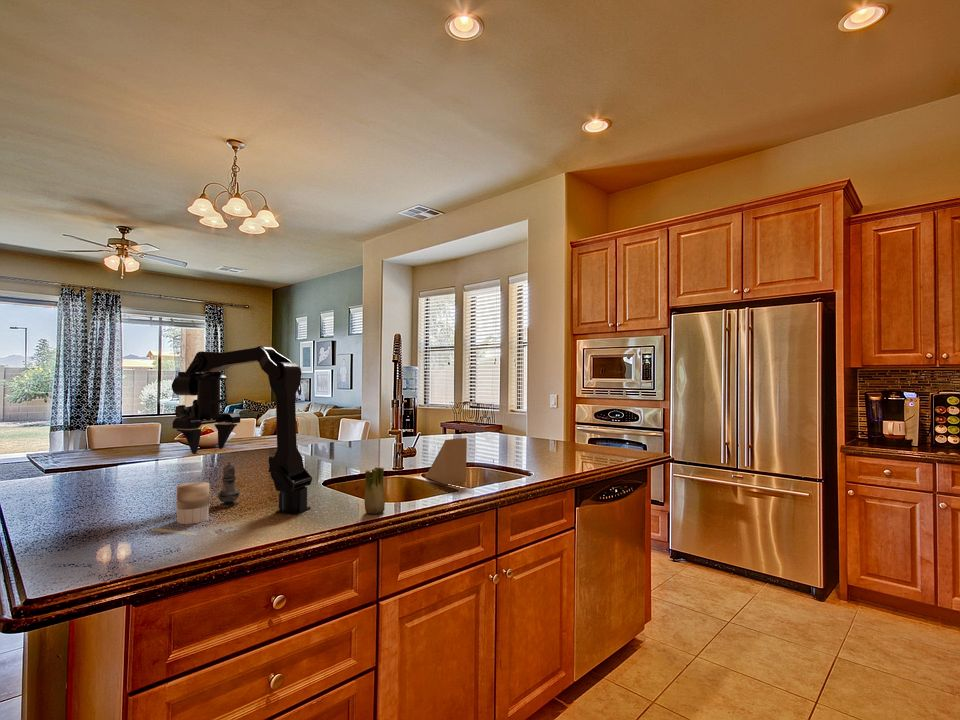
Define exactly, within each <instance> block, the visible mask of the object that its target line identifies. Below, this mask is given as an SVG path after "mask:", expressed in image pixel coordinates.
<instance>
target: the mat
mask: <svg viewBox="0 0 960 720" xmlns="http://www.w3.org/2000/svg"><path fill="white" fill-rule="evenodd" d="M151 531H153V532H163V533H172V534H180V535H181V534H182V535H188V536H189V535H191V536H195V535H198V534H200V533H199V532H192V531H184V530H176V529H167V528H155V529H152V530H151Z"/></svg>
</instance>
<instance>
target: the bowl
mask: <svg viewBox="0 0 960 720" xmlns="http://www.w3.org/2000/svg"><path fill="white" fill-rule="evenodd" d="M209 505H210V504H209ZM209 505H207V506H205V507H202V508H196V509H178V508H177V507H176V522H177V523H178V524H182V525H190V524H198V523H203V522H205V521H208V520H209V516H210V515H209V510H210V508H209Z"/></svg>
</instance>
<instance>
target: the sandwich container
mask: <svg viewBox="0 0 960 720" xmlns="http://www.w3.org/2000/svg"><path fill="white" fill-rule="evenodd" d="M467 441H468V439H467V437H461V438H459V437H458V438H457V437H456V438H450V439H445V440H444V442H443V444H442V445H441V447H440V450H439V452H438V454H437V455H436V457H435V459H434V461H433V462H432V464H431V466H430V468H429V470H428V471H427V472H426V474H425V476H424V478H427V479H430V480H432V481H435V482H437V483H440V484H443V485H455V484H460V483H461V484H462V483H466V482H467V452H468V451H467V450H468V449H467V448H468V446H467V445H468V443H467Z"/></svg>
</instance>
